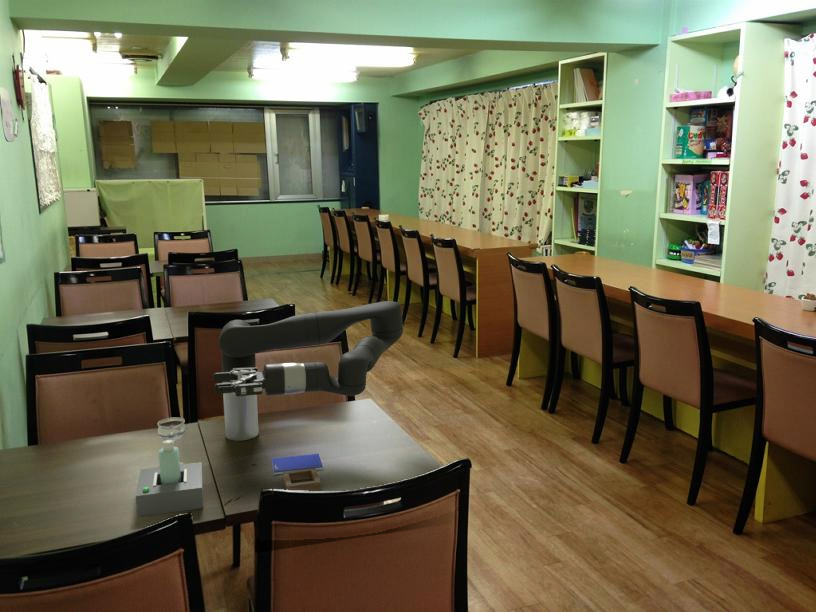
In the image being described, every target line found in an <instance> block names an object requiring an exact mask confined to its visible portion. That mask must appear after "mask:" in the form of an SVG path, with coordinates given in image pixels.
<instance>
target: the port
mask: <svg viewBox="0 0 816 612" xmlns="http://www.w3.org/2000/svg"><path fill="white" fill-rule="evenodd" d="M180 474H181V483H173V484H165V485H161V477H160V466H158V467H157V466H156V467H150V468H149V467H148V468H141V469H140V472H139V476H138V482H137V488H136V492H135V502H136V503H135V504H136V513H137V518H139V516H141V517H145V516H146V517H147V515H148V516H154V515H162V514H168V513H169V514H170V513H176V512H183V511H184V512H186V511H191V510H196V509H198V510H199V509H204V476H203V462H202V461H200V462H191V463H190V462H189V463H184V464H181V465H180Z"/></svg>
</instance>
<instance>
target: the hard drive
mask: <svg viewBox="0 0 816 612" xmlns="http://www.w3.org/2000/svg"><path fill="white" fill-rule="evenodd" d="M270 460H271V466H272V467H271V468H272V474H273V476H274V475H276V476H277V475H283V472H288V471H296V470H304V469H312V468H315V469H316V471H319V470H324V466H323V463H322V460H321V457H320V453H312V454H311V453H310V454H302V455H301V454H300V455H294V456H293V455H292V456H290V455H289V456H280V457H273V458H271V459H270Z"/></svg>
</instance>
